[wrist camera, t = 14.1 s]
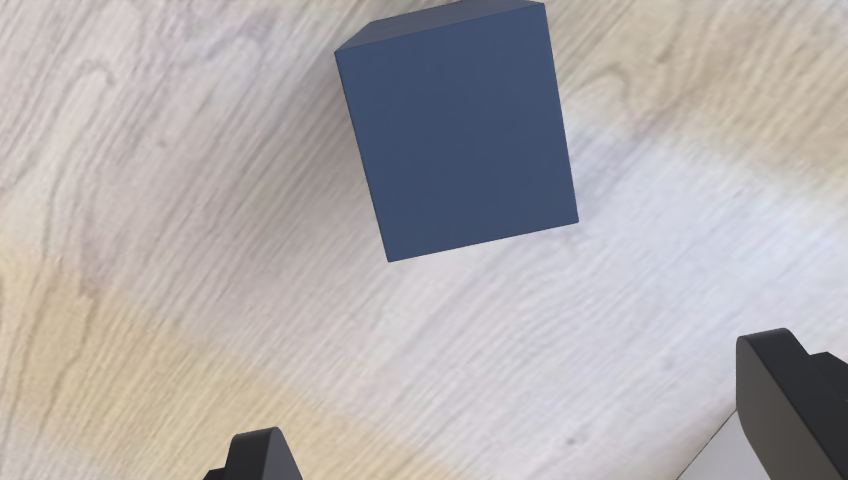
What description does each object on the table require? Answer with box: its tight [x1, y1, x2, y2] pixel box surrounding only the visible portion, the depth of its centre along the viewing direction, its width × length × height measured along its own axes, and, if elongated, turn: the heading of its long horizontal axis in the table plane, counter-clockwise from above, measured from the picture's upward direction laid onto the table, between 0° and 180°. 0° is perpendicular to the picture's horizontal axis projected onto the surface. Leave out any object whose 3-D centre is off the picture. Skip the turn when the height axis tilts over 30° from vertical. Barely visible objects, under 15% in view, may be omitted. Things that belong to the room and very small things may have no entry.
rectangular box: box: [334, 0, 579, 262], centre depth 26 cm, size 14×6×6 cm
